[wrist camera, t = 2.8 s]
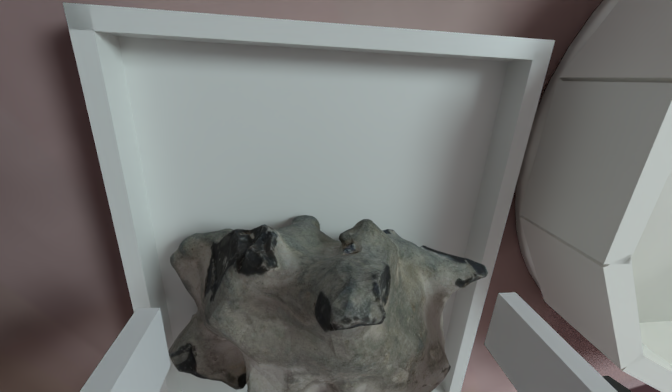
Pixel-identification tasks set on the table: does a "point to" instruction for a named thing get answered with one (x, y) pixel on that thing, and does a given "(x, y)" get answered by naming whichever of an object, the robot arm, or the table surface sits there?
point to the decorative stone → (316, 309)
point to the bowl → (607, 188)
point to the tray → (302, 141)
